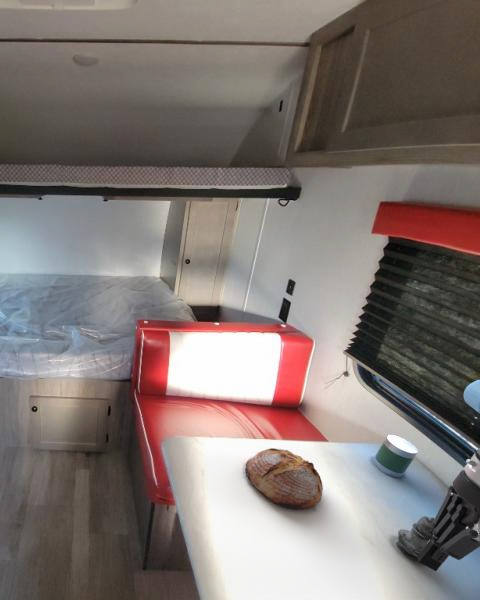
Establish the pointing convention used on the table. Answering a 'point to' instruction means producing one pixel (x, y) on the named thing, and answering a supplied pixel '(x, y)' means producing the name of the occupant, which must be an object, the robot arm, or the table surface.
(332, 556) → the table surface
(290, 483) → the bread
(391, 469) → the tin can
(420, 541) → the grey stone statuette
